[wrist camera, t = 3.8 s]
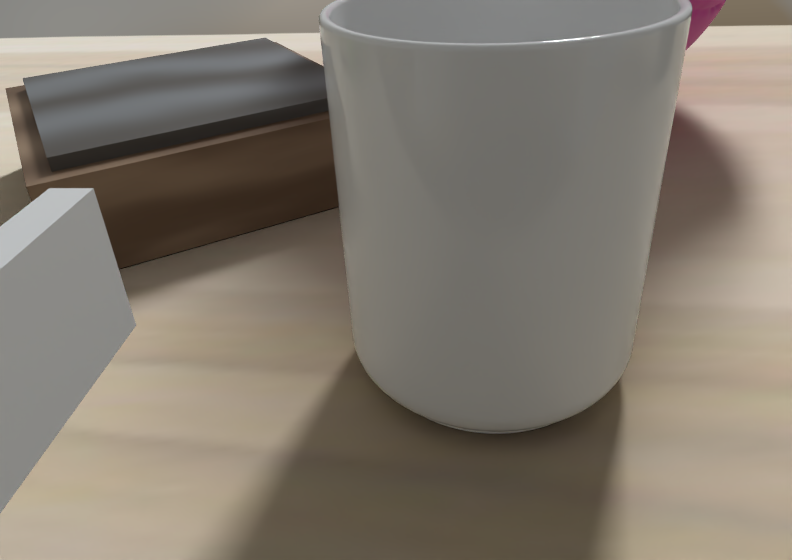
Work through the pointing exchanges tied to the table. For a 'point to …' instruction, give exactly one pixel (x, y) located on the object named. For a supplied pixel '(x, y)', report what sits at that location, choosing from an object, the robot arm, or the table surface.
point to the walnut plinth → (182, 143)
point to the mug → (499, 194)
